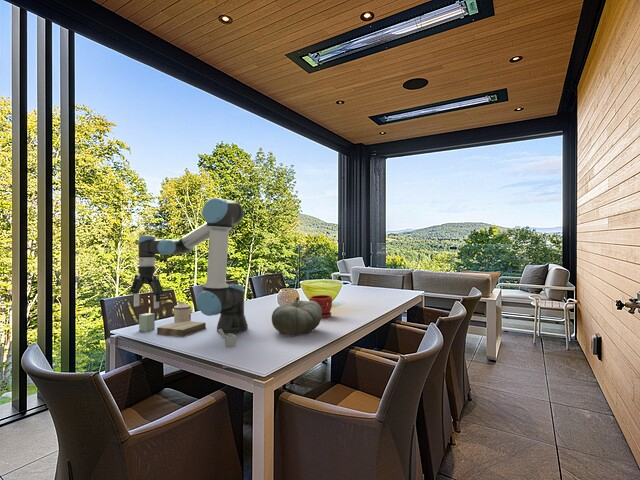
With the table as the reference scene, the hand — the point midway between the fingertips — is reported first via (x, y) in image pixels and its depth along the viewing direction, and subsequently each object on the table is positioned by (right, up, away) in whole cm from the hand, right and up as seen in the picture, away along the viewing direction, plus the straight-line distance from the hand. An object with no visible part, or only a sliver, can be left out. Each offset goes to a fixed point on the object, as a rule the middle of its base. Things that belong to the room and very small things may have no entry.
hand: (146, 307), depth 177 cm
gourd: (+78, -11, -9) cm, 79 cm away
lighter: (+50, -11, -31) cm, 60 cm away
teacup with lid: (+11, -12, +17) cm, 24 cm away
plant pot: (+90, -11, +28) cm, 94 cm away
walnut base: (+20, -11, -3) cm, 23 cm away
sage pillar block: (+1, -12, 0) cm, 12 cm away
